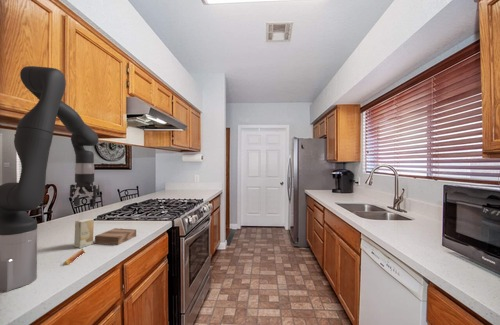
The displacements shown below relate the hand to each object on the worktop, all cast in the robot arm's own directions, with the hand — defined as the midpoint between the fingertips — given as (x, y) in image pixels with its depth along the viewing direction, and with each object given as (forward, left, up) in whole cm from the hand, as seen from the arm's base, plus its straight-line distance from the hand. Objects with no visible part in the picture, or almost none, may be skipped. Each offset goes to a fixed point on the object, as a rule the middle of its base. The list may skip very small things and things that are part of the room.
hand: (84, 206), depth 106 cm
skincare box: (0, 0, -19) cm, 19 cm away
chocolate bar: (-13, -9, -20) cm, 25 cm away
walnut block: (+10, -9, -19) cm, 24 cm away
